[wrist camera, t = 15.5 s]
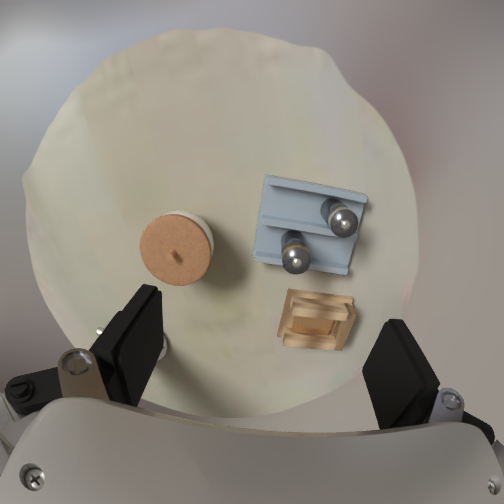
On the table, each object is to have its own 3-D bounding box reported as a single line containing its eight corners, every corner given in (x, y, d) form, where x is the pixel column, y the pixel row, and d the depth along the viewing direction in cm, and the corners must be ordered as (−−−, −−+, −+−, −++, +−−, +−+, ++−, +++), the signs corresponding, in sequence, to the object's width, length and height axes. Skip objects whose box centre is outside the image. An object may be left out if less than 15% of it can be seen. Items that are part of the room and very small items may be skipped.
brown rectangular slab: (291, 328, 49) (291, 331, 48) (296, 308, 47) (297, 310, 46) (327, 332, 49) (328, 335, 48) (334, 312, 47) (335, 315, 46)
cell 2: (317, 219, 42) (328, 237, 34) (322, 195, 40) (335, 207, 33) (340, 224, 42) (355, 241, 34) (346, 200, 40) (363, 213, 33)
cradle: (277, 332, 51) (277, 348, 47) (288, 288, 48) (289, 302, 43) (335, 338, 51) (340, 353, 47) (351, 296, 48) (358, 310, 43)
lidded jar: (218, 202, 43) (205, 217, 34) (221, 265, 47) (211, 293, 38) (154, 204, 43) (129, 220, 34) (162, 264, 47) (141, 290, 38)
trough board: (252, 253, 45) (251, 260, 43) (264, 174, 40) (264, 176, 38) (345, 267, 45) (349, 275, 43) (364, 193, 41) (370, 197, 38)
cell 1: (282, 227, 42) (285, 247, 35) (307, 232, 42) (314, 252, 35) (278, 250, 44) (279, 274, 36) (301, 254, 44) (307, 278, 36)
